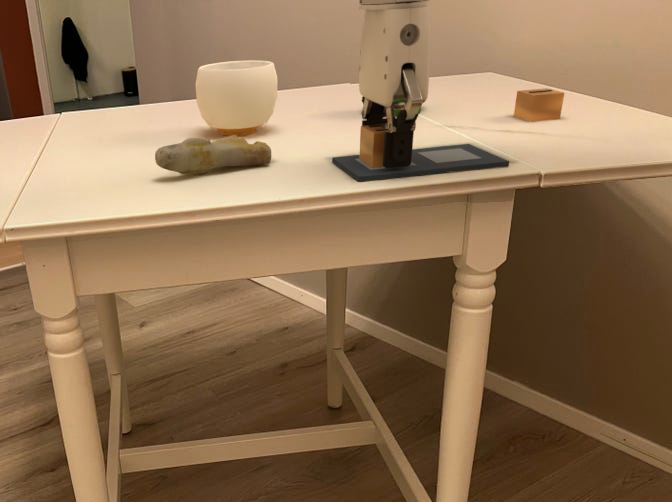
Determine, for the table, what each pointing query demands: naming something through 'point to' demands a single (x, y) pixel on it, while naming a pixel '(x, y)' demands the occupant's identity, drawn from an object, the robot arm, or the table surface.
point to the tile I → (538, 104)
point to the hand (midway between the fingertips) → (384, 158)
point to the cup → (236, 95)
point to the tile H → (372, 144)
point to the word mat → (424, 163)
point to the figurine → (211, 154)
